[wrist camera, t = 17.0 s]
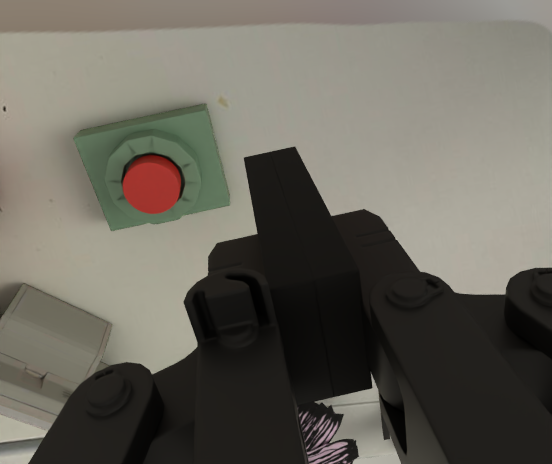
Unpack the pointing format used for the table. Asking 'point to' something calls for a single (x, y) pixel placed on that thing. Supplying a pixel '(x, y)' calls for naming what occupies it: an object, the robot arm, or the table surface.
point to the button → (152, 184)
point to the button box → (162, 142)
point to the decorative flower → (324, 435)
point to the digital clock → (46, 355)
